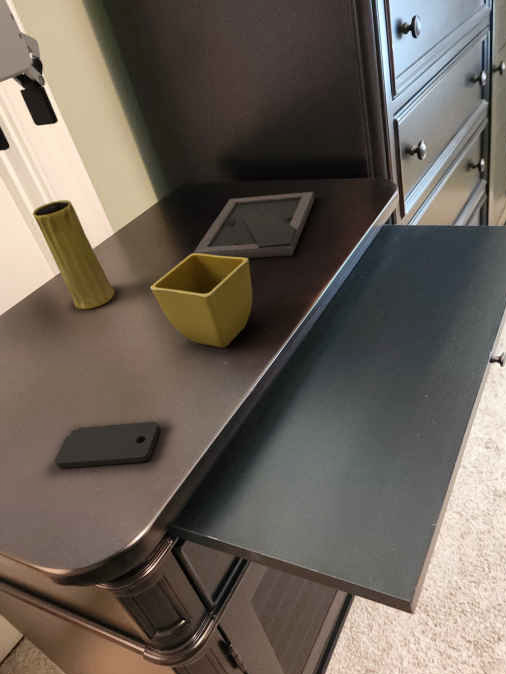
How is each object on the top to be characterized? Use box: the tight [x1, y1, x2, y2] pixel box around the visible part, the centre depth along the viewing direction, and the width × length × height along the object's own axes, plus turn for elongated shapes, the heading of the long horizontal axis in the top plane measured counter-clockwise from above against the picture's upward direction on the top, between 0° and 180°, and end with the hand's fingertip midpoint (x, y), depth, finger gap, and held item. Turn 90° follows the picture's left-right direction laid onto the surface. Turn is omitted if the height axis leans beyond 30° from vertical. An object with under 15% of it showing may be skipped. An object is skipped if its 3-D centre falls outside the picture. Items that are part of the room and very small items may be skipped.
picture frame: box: [193, 191, 315, 259], centre depth 89 cm, size 16×2×21 cm
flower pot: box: [150, 252, 253, 349], centre depth 64 cm, size 9×9×9 cm
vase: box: [32, 199, 115, 310], centre depth 75 cm, size 6×6×14 cm
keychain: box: [54, 421, 161, 469], centre depth 54 cm, size 5×1×10 cm
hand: (23, 136), depth 63 cm, fingers open, 9 cm apart
